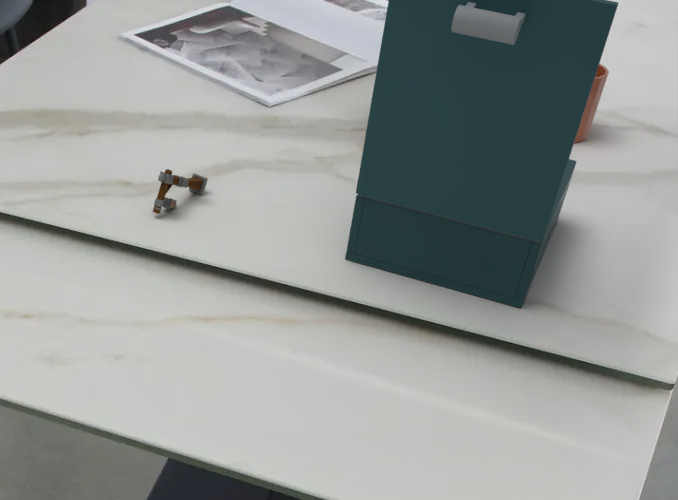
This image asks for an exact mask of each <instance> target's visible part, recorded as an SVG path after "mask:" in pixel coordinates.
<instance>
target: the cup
mask: <svg viewBox="0 0 678 500" xmlns="http://www.w3.org/2000/svg"><path fill="white" fill-rule="evenodd" d="M609 74H610V71H609V69H608V68H607V67H606V66H605V65H603V64H601V62H600V63H599V66H598V69H597V72H596V76H595V79H594V82H593V85H592V88H591V91H590V94H589V98H588V101H587V104H586V107H585V110H584V113H583V116H582V120H581V123H580V126H579V129H578V132H577V135H576V138H575V142H574V144H578V143H581V142H584V141H586V140H587V139H588V138H589V134H590V132H591V128H592V126H593V123H594V120H595V117H596V113H597V110H598V107H599V104H600V100H601V99H602V95H603V92H604V89H605V85H606V83H607V80H608V77H609Z"/></svg>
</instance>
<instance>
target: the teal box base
mask: <svg viewBox="0 0 678 500" xmlns="http://www.w3.org/2000/svg"><path fill="white" fill-rule="evenodd" d="M576 165H577V161H576V160H575V159H570V158H569V160H568V164H567V167H566V170H565V173H564V176H563V179H562V182H561V186H560V189H559V192H558V195H557V198H556V201H555V204H554V207H553V211H552V214H551V217H550V220H549V223H548V226H547V229H546V233H545V236H544V239H543V241H542V242H541V241H537V240H533V239H529V238H525V237H522V236H518V235H514V234H510V233H506V232H502V231H499V230H495V229H491V228H487V227H483V226H479V225H476V224H472V223H468V222H464V221H460V220H456V219H453V218H449V217H445V216H441V215H437V214H433V213H430V212H426V211H422V210H418V209H414V208H410V207H407V206H403V205H399V204H395V203H391V202H387V201H384V200H380V199H376V198H372V197H368V196H364V195H361V194H357V195H355V201H354V206H353V210H352V211H353V213H352V218H351V223H350V227H349V228H350V229H349V235H348V239H347V246H346V252H345V257H344V259H345V260H346V261H349V262H350V261H351V262H353V263H358V264H361V265H365V266H368V267H371V268H375V269H378V270H382V271H386V272H389V273H393V274H397V275H401V276H404V277H407V278H411V279H414V280H419V281H422V282H425V283H428V284H432V285H436V286H440V287H443V288H446V289H451V290H453V291H457V292H461V293H465V294H468V295H472V296H476V297H479V298H482V299H486V300H490V301H493V302H496V303H500V304H504V305H508V306H511V307H515V308H519V309H522V308H523V306H524V303H525V300H526V298H527V295H528V293H529V291H530V288H531V286H532V284H533V281H534V278H535V276H536V274H537V271H538V268H539V267H540V264H541V262H542V259H543V257H544V255H545V252H546V249H547V248H548V245H549V242H550V239H551V237H552V235H553V233H554V230H555V228H556V225H557V223H558V221H559V218H560V214H561V211H562V208H563V205H564V202H565V199H566V196H567V192H568V190H569V187H570V183H571V181H572V177H573V175H574V171H575V169H576Z"/></svg>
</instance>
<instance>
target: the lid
mask: <svg viewBox="0 0 678 500" xmlns="http://www.w3.org/2000/svg"><path fill="white" fill-rule="evenodd" d="M618 5H619V2H617V1H613V0H388V1H387V8H386V13H385V20H384V26H383V32H382V38H381V43H380V49H379V55H378V60H377V66H376V73H375V78H374V84H373V89H372V94H371V101H370V106H369V107H370V108H369V112H368V113H369V114H368V119H367V125H366V131H365V136H364V142H363V148H362V155H361V160H360V166H359V171H358V178H357V184H356V187H355V194H357V195H358V194H361V195H364V196H368V197H372V198H376V199H380V200H384V201H387V202H391V203H395V204H399V205H403V206H407V207H410V208H414V209H418V210H422V211H426V212H430V213H433V214H437V215H441V216H445V217H449V218H453V219H456V220H460V221H464V222H468V223H472V224H476V225H479V226H483V227H487V228H491V229H495V230H499V231H502V232H506V233H510V234H514V235H518V236H522V237H525V238H529V239H533V240H537V241H541V242H542V241H543V239H544V236H545V233H546V229H547V226H548V223H549V220H550V217H551V214H552V211H553V207H554V204H555V201H556V198H557V195H558V192H559V189H560V186H561V182H562V179H563V176H564V173H565V170H566V167H567V164H568V160H569V159H570V158H571V154H572V152H573V148H574V144H575V143H574V142H575V138H576V135H577V132H578V129H579V126H580V123H581V120H582V116H583V113H584V110H585V107H586V104H587V101H588V98H589V94H590V91H591V88H592V85H593V82H594V79H595V76H596V72H597V69H598V66H599V63H600V64H601V60H602V56H603V53H604V51H605V47H606V44H607V41H608V37H609V34H610V31H611V29H612V25H613V22H614V19H615V16H616V12H617V9H618Z"/></svg>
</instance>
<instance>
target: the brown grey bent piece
mask: <svg viewBox="0 0 678 500" xmlns="http://www.w3.org/2000/svg"><path fill="white" fill-rule="evenodd" d="M208 180H209V178H207V177H205V176H202V175H201V174H197V173H192V175H191V177H184V176H180V175H177V174H173V170H171V169H169V168H168V169H167V168H166V169H164V172H163V171H160V172H159V174H158V179H157V181H158V182H160V186H159V189H158V192H157V195H156V197H155V199H154V202H153V210H152V213H154V214H158V215H159V214H161V211H162V208H164V209H166V210H168V211H170V210H171V209H172V210H175V209H176V206H177V201H178V200H176V199H173V198H171V197H166V194H167V193H168V192H170V189H171V188H172V187H173V186H175V187H179V188H185V189H187V188H188V191H192V192H195V193H197V194H199V195H202V196H204V194H205V190H206V187H207V184H208Z"/></svg>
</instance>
